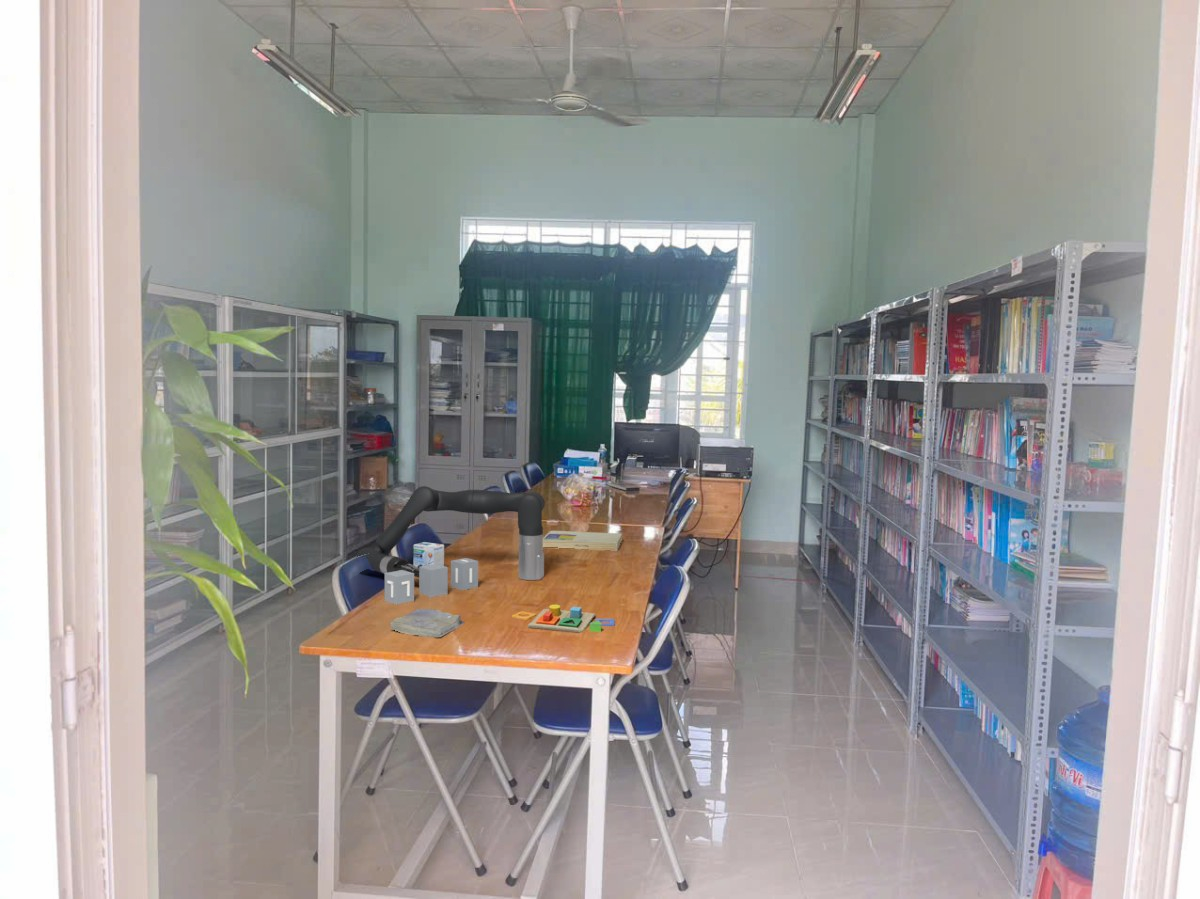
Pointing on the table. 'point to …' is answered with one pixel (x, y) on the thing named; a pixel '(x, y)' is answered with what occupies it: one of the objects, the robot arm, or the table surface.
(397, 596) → the block marked 7
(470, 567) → the block marked 1
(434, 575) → the plain block
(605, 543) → the puzzle box
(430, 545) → the light bulb box
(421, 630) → the fossil
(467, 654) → the table surface
